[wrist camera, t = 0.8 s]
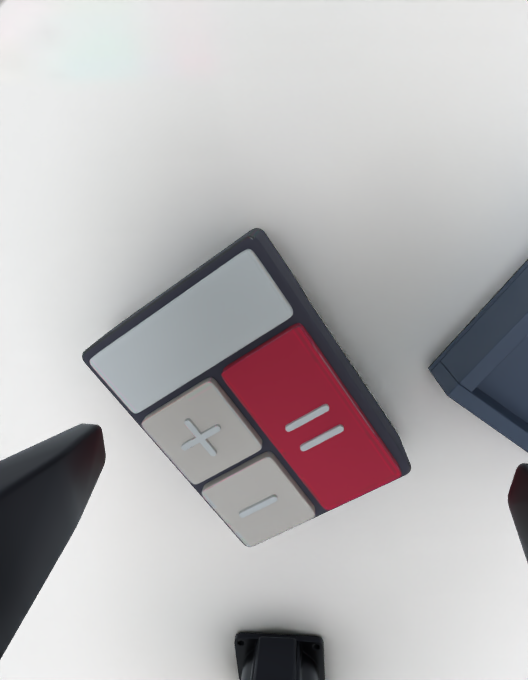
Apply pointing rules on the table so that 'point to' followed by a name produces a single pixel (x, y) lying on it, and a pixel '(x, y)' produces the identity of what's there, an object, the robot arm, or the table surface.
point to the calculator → (250, 394)
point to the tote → (493, 362)
